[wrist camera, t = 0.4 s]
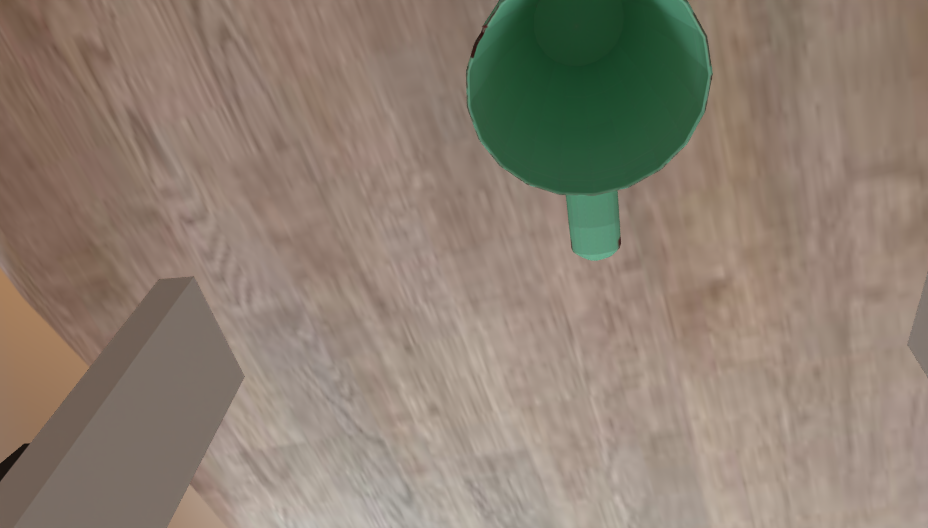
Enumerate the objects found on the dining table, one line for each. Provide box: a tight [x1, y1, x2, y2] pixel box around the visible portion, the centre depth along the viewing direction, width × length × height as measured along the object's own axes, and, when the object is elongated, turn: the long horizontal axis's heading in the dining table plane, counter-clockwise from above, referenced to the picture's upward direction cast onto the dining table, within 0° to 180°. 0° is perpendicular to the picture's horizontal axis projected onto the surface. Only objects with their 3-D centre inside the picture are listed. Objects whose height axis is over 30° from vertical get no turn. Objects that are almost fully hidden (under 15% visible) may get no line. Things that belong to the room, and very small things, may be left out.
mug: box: [466, 0, 713, 261], centre depth 32 cm, size 15×10×10 cm
